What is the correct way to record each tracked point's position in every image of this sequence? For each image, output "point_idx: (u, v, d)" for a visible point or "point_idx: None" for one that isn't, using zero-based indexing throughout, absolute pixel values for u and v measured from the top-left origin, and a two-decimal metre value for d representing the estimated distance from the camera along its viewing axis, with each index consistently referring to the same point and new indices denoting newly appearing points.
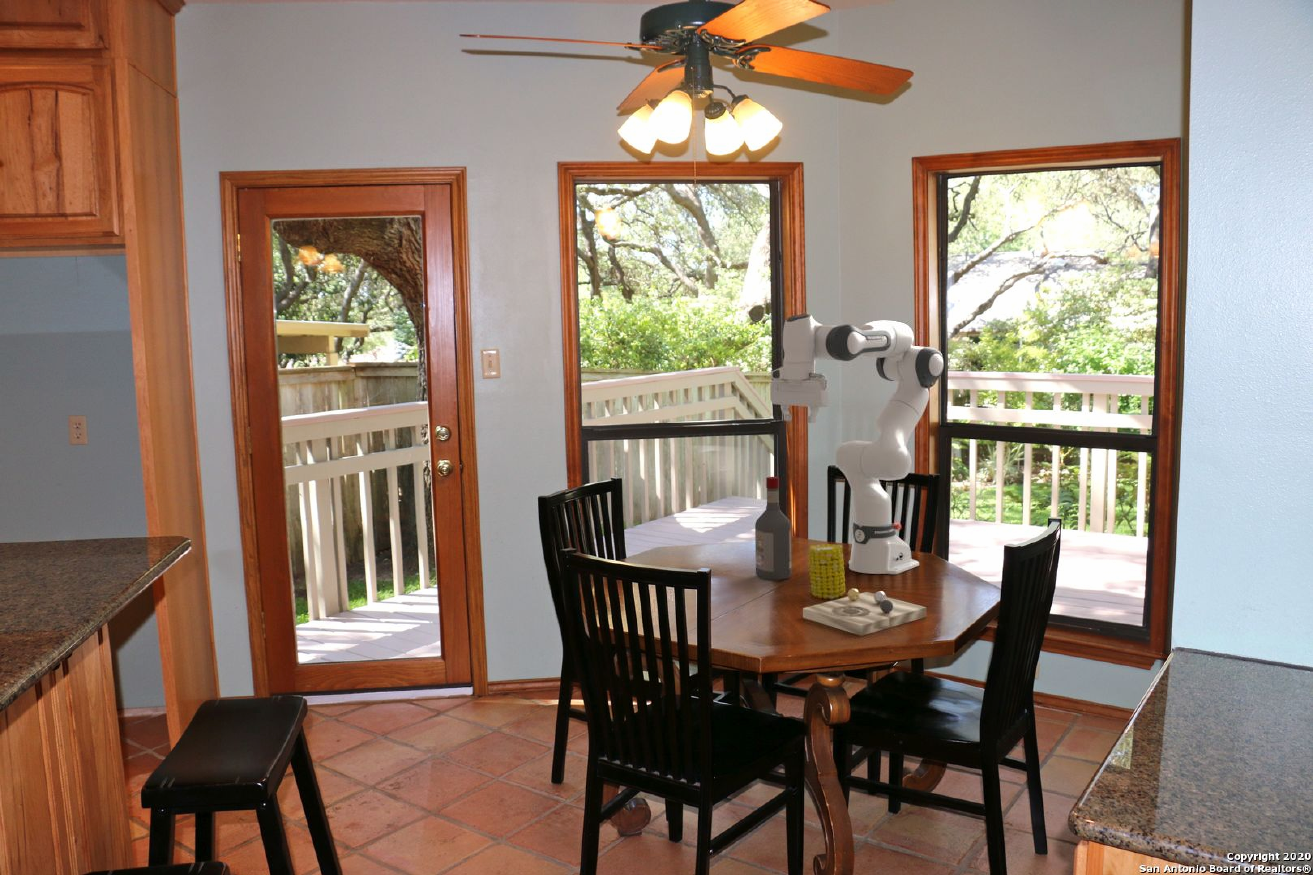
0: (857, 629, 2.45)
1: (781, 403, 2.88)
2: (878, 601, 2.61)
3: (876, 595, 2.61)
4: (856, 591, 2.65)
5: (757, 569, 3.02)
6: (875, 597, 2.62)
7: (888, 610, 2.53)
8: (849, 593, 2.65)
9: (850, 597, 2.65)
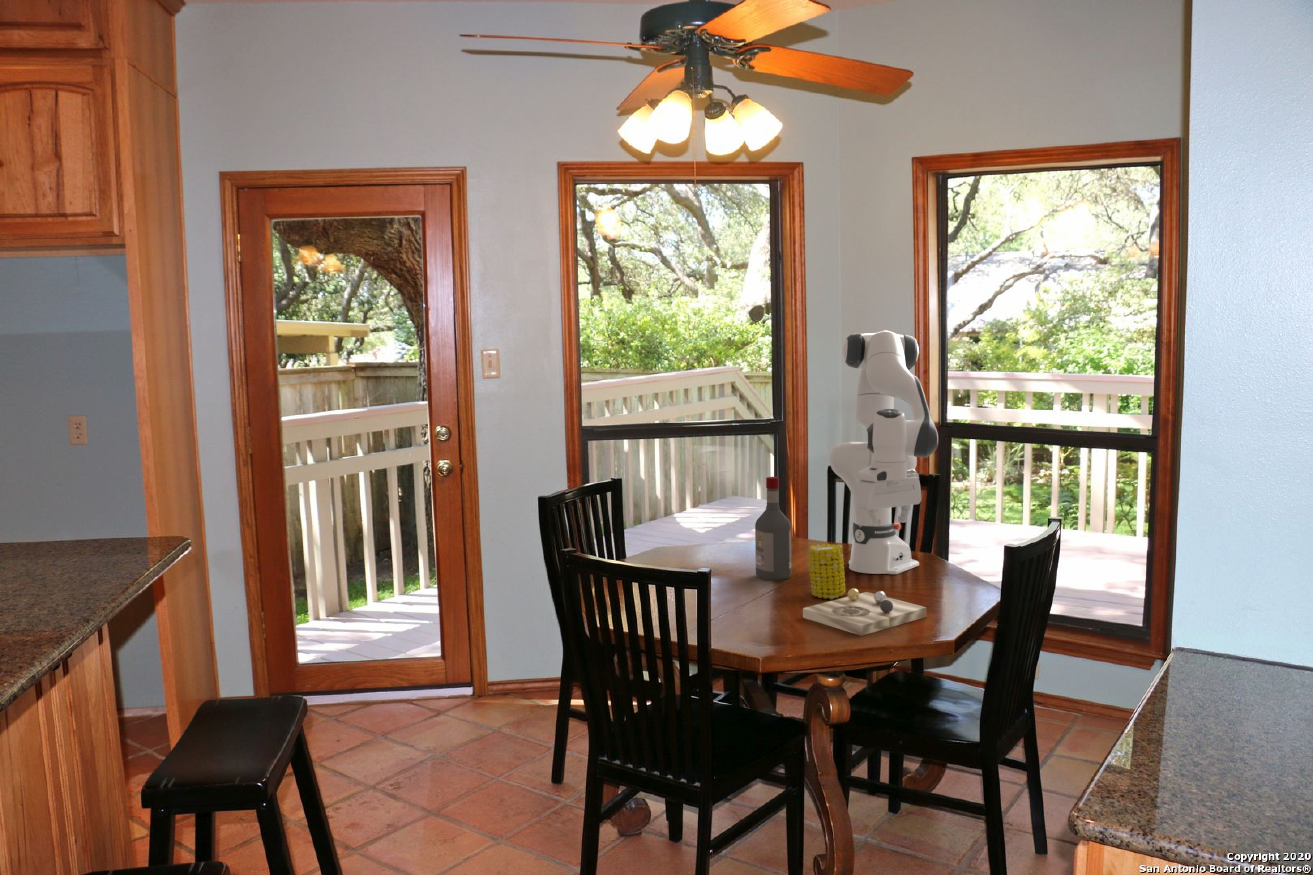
0: (857, 629, 2.45)
1: (878, 507, 2.61)
2: (878, 601, 2.61)
3: (876, 595, 2.61)
4: (856, 591, 2.65)
5: (757, 569, 3.02)
6: (875, 597, 2.62)
7: (888, 610, 2.53)
8: (849, 593, 2.65)
9: (850, 597, 2.65)
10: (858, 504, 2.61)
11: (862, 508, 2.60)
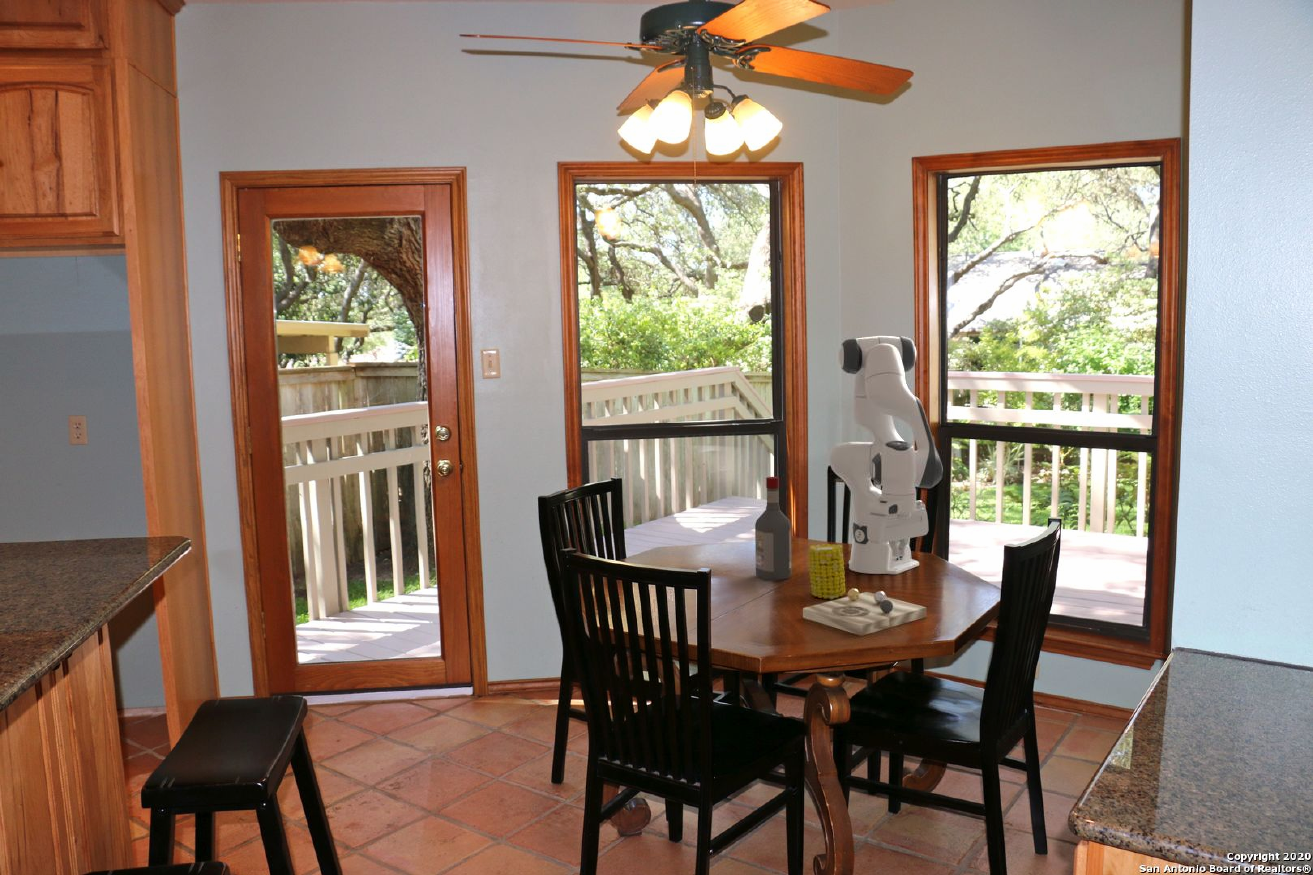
0: (857, 629, 2.45)
1: (889, 540, 2.60)
2: (878, 601, 2.61)
3: (876, 595, 2.61)
4: (856, 591, 2.65)
5: (757, 569, 3.02)
6: (875, 597, 2.62)
7: (888, 610, 2.53)
8: (849, 593, 2.65)
9: (850, 597, 2.65)
10: (869, 537, 2.59)
11: (874, 541, 2.58)
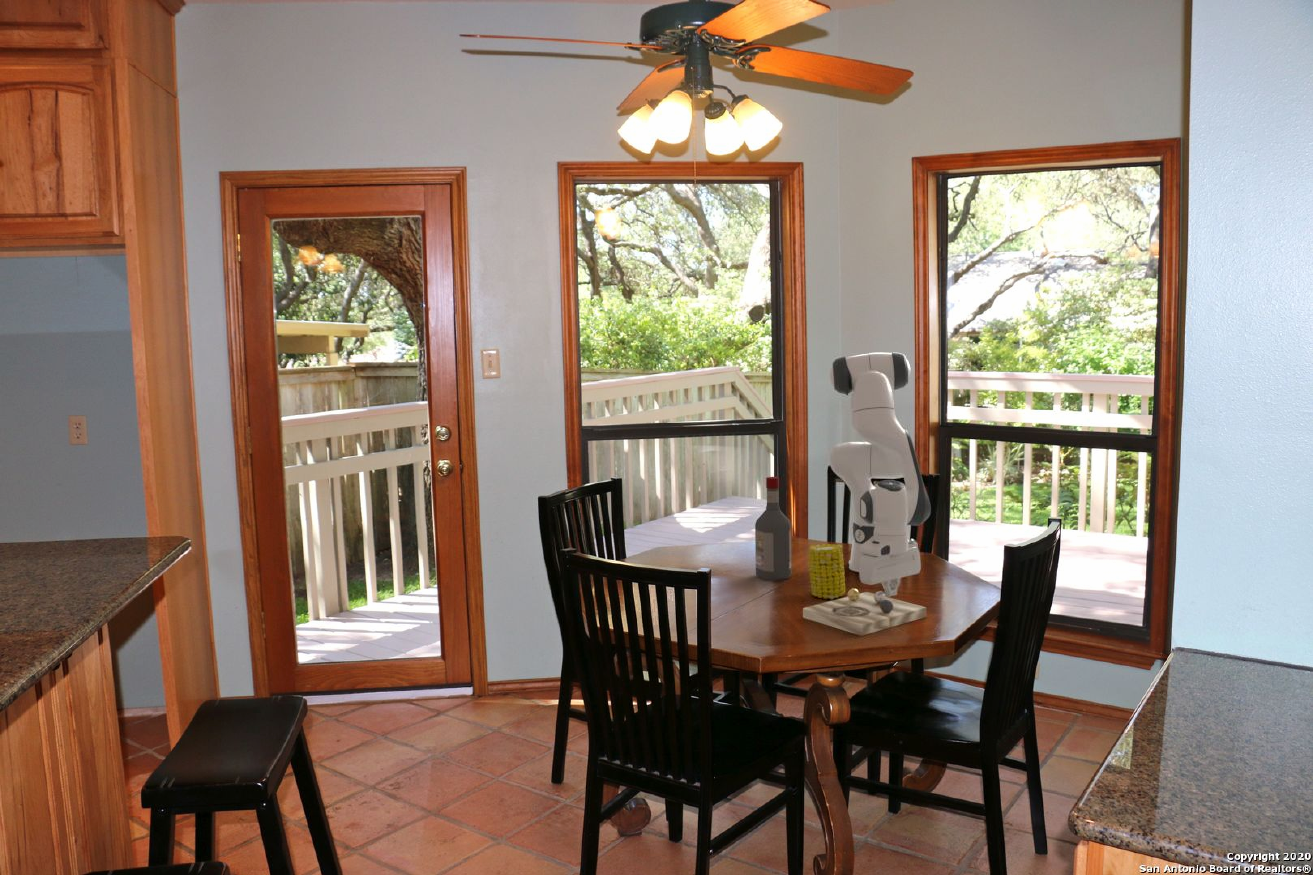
0: (857, 629, 2.45)
1: (881, 581, 2.59)
2: (878, 601, 2.61)
3: (876, 595, 2.61)
4: (856, 591, 2.65)
5: (757, 569, 3.02)
6: (875, 597, 2.62)
7: (888, 610, 2.53)
8: (849, 593, 2.65)
9: (850, 597, 2.65)
10: (862, 578, 2.59)
11: (866, 582, 2.58)
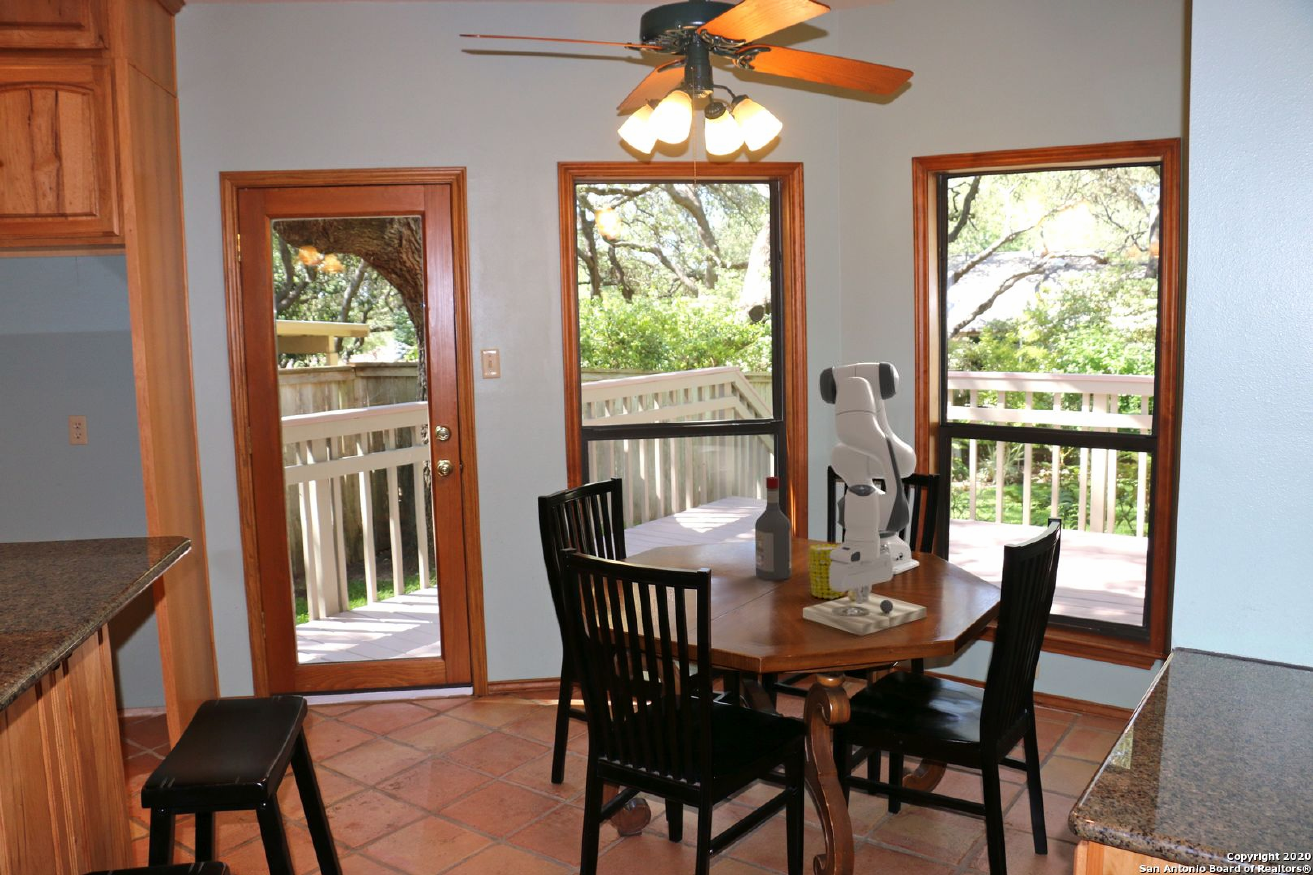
0: (857, 629, 2.45)
1: (852, 588, 2.53)
2: None
3: None
4: None
5: (757, 569, 3.02)
6: None
7: (888, 610, 2.53)
8: (849, 593, 2.65)
9: (850, 597, 2.65)
10: (831, 585, 2.52)
11: (836, 590, 2.52)
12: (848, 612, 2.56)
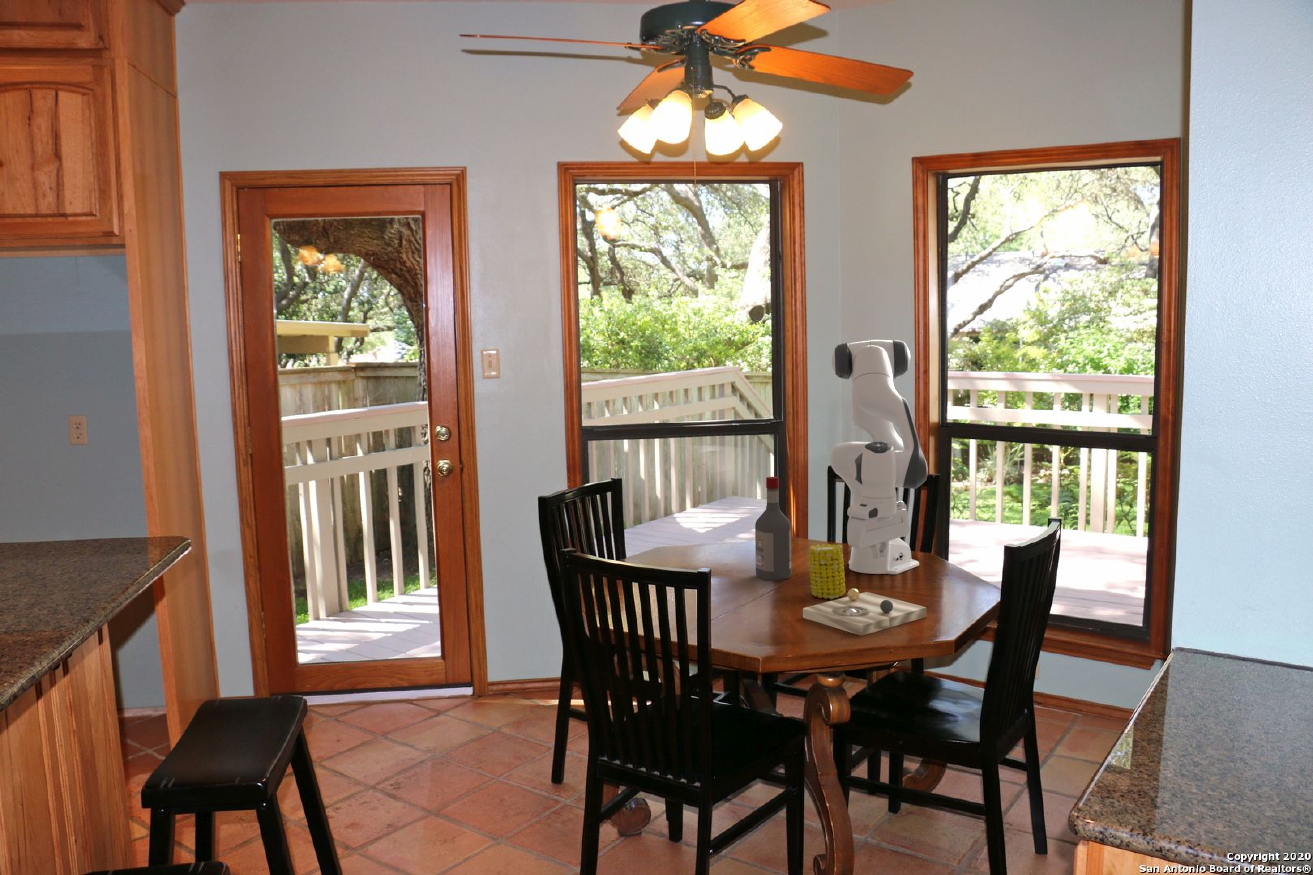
0: (857, 629, 2.45)
1: (869, 544, 2.56)
2: None
3: None
4: (856, 591, 2.65)
5: (757, 569, 3.02)
6: None
7: (888, 610, 2.53)
8: (849, 593, 2.65)
9: (850, 597, 2.65)
10: (849, 542, 2.55)
11: (854, 546, 2.55)
12: None
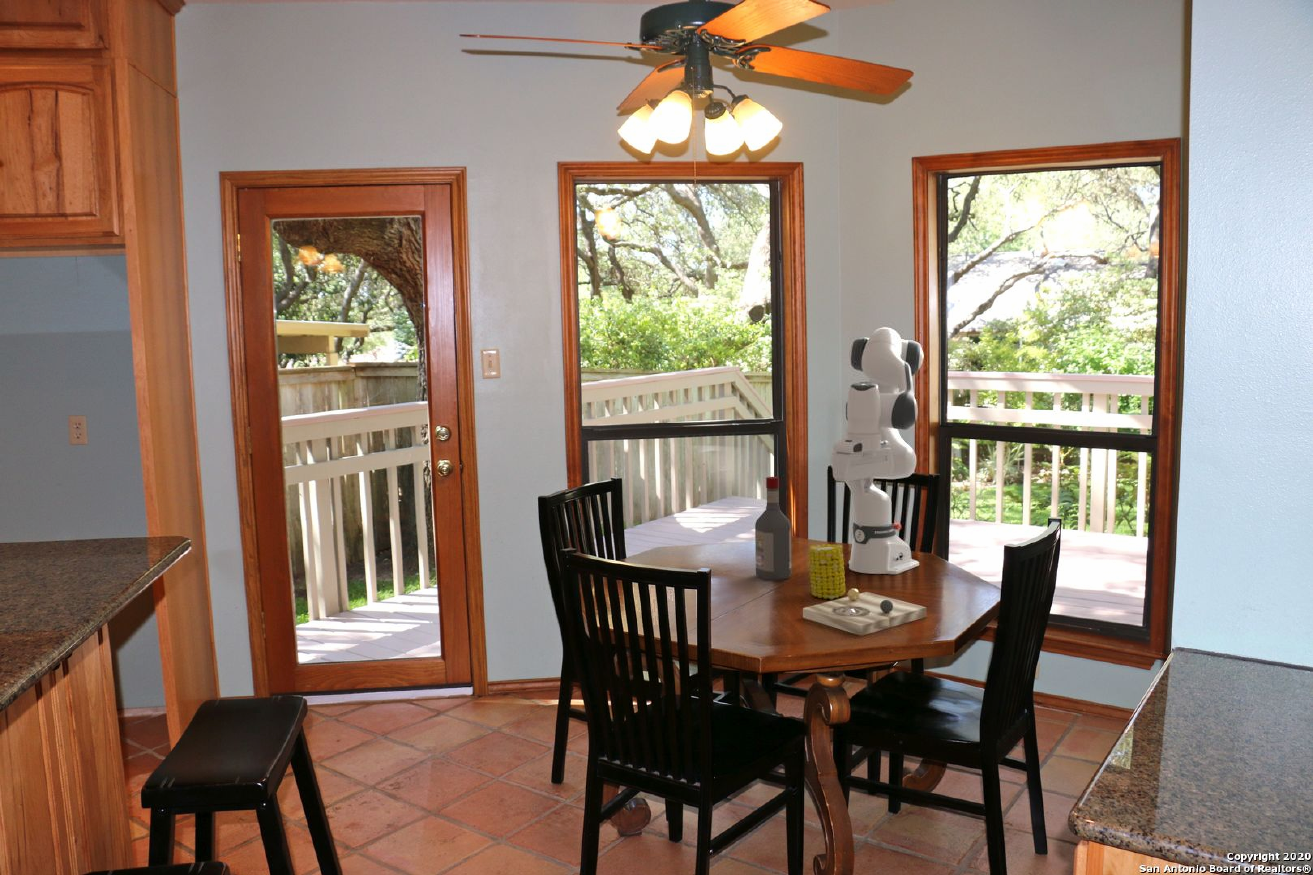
0: (857, 629, 2.45)
1: (854, 478, 2.67)
2: None
3: None
4: (856, 591, 2.65)
5: (757, 569, 3.02)
6: None
7: (888, 610, 2.53)
8: (849, 593, 2.65)
9: (850, 597, 2.65)
10: (835, 475, 2.66)
11: (839, 479, 2.65)
12: None
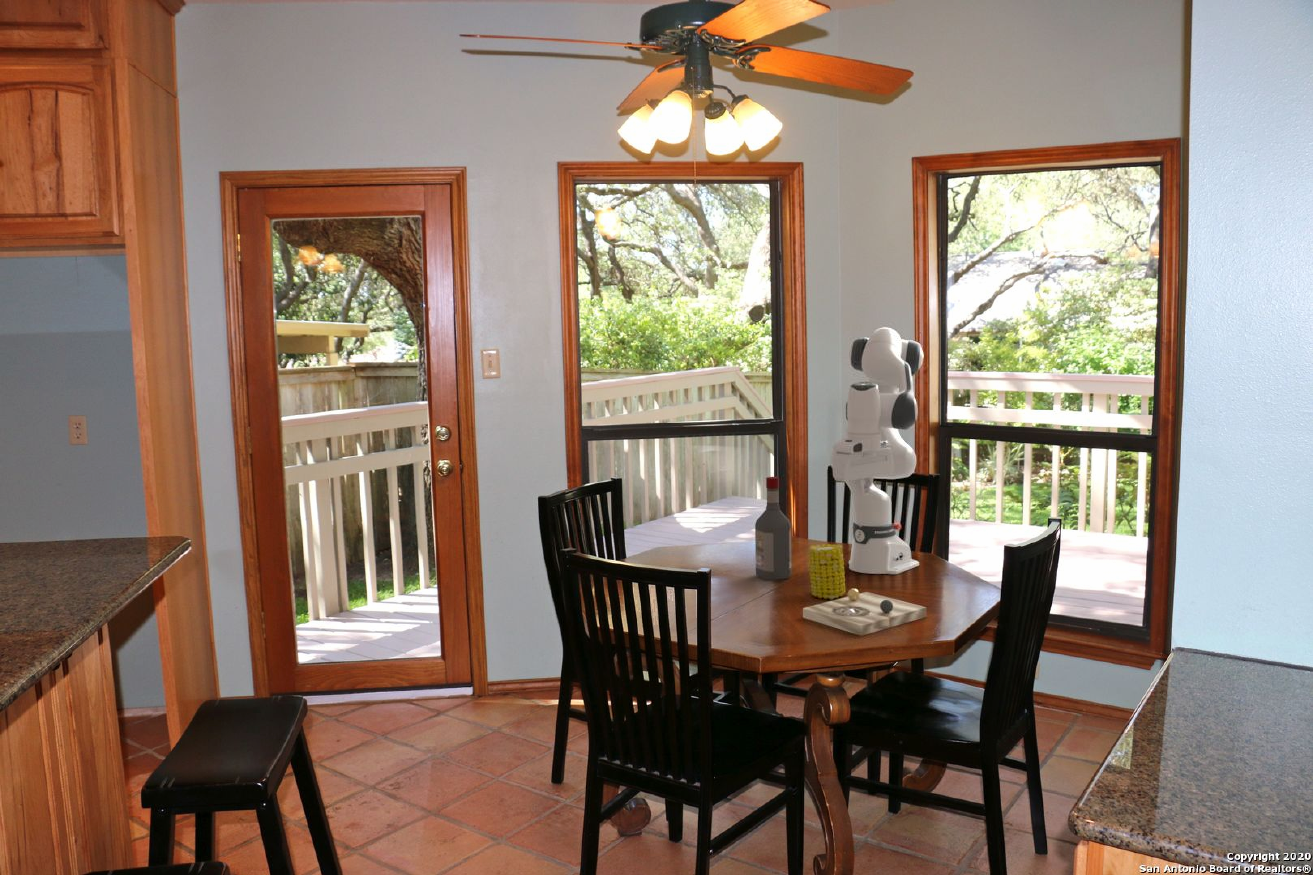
0: (857, 629, 2.45)
1: (854, 478, 2.67)
2: None
3: None
4: (856, 591, 2.65)
5: (757, 569, 3.02)
6: None
7: (888, 610, 2.53)
8: (849, 593, 2.65)
9: (850, 597, 2.65)
10: (835, 475, 2.66)
11: (839, 479, 2.65)
12: None
